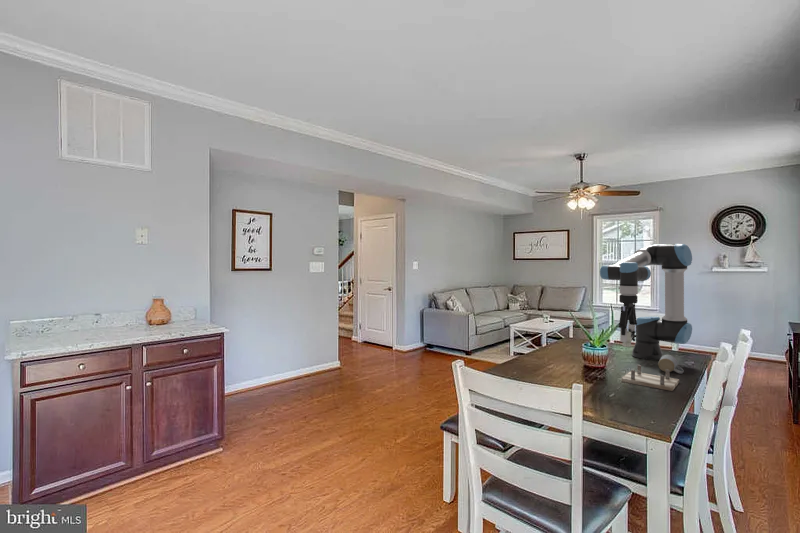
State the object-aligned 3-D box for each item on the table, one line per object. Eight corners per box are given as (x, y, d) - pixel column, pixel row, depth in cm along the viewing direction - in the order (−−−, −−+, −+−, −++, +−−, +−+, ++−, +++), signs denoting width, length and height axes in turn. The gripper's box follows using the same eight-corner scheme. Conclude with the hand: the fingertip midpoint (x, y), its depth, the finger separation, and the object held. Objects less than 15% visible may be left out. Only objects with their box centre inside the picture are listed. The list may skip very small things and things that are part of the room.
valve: (634, 347, 189) (637, 342, 199) (634, 333, 189) (637, 329, 199) (618, 346, 193) (621, 341, 203) (618, 332, 193) (622, 328, 203)
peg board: (630, 373, 203) (630, 362, 203) (679, 382, 189) (679, 370, 189) (621, 381, 191) (621, 369, 191) (672, 391, 178) (672, 378, 178)
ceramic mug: (657, 371, 208) (657, 356, 207) (660, 367, 214) (660, 353, 214) (682, 375, 201) (683, 360, 200) (684, 372, 207) (685, 356, 207)
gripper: (627, 292, 207) (626, 335, 208) (611, 295, 190) (610, 342, 190) (644, 293, 202) (643, 337, 202) (629, 297, 184) (628, 345, 185)
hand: (627, 339), depth 196 cm, fingers closed on valve, 12 cm apart
